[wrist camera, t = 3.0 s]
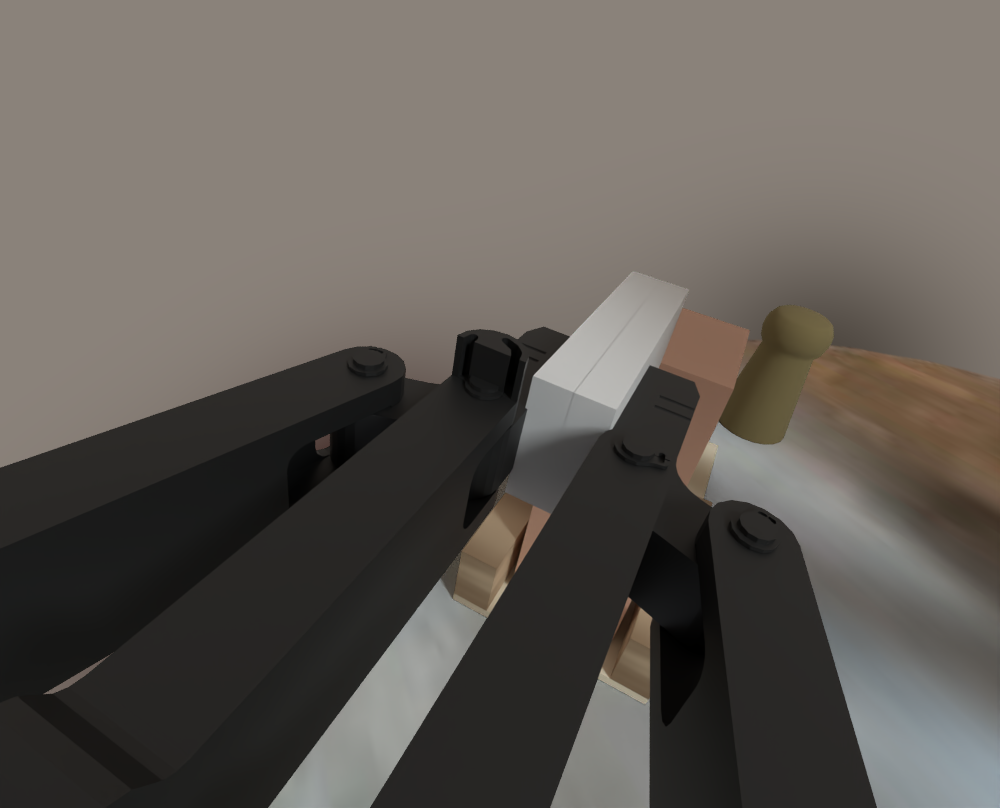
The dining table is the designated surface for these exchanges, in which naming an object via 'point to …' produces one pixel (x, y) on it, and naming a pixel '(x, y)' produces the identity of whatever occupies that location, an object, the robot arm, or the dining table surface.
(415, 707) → the dining table surface
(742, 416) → the olive green pawn
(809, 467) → the dining table surface
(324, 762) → the dining table surface
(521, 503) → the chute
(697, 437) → the post
